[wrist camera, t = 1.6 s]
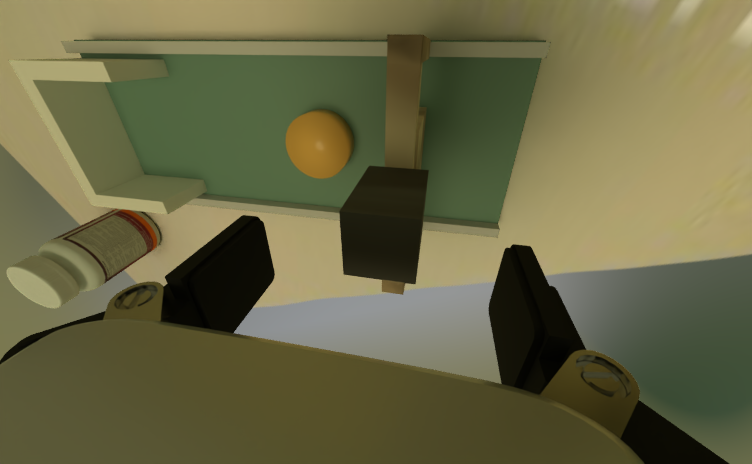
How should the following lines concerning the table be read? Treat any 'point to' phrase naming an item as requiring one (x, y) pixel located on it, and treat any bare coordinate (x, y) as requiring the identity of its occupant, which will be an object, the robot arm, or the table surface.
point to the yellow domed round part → (319, 143)
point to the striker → (392, 180)
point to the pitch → (279, 122)
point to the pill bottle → (84, 257)
